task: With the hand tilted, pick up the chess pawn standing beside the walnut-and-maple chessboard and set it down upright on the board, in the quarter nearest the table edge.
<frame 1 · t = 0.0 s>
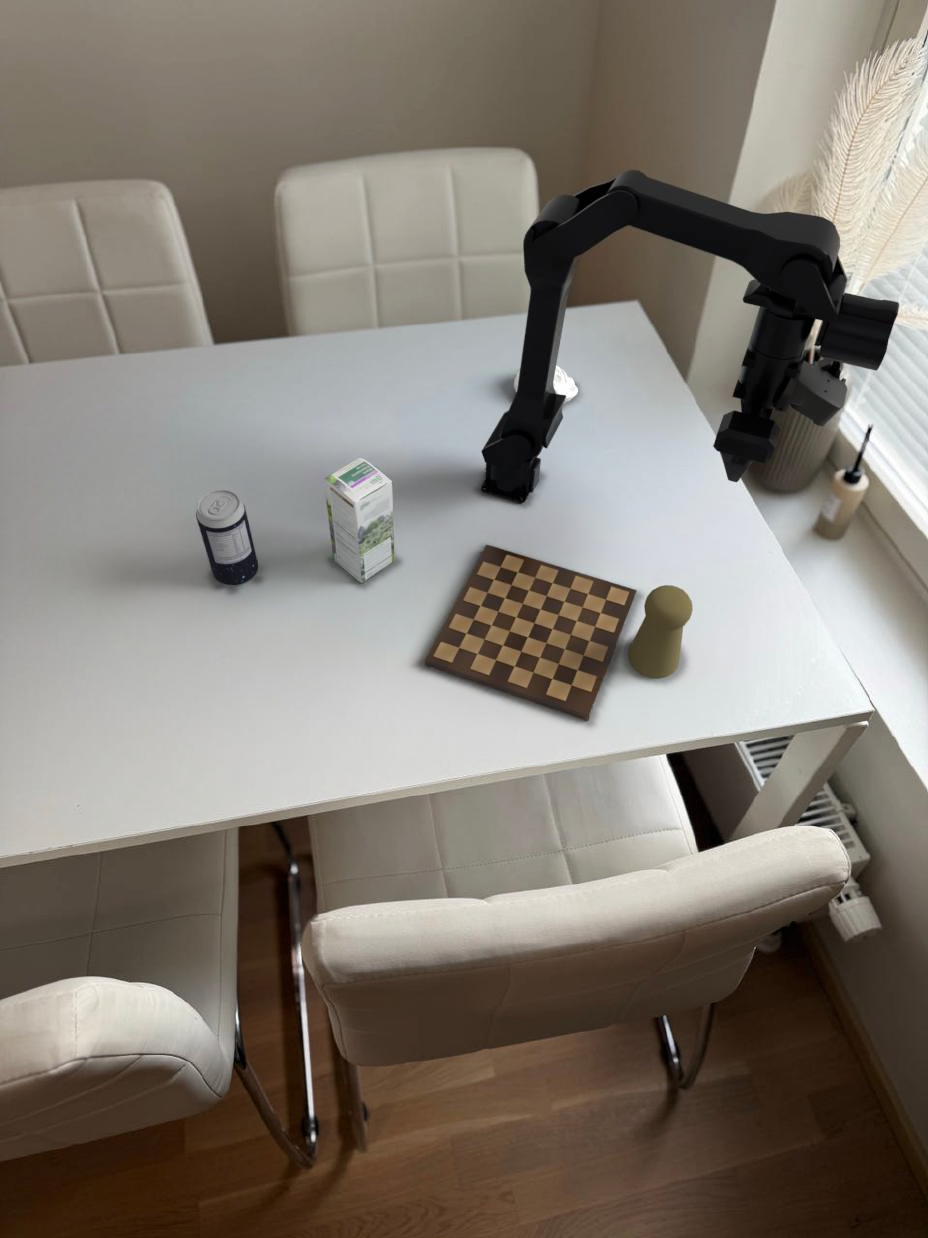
hand: (740, 456, 110), 15 cm above the table, tool pointing down, fingers open, 9 cm apart
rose: (545, 393, 140), on the table
chess pawn: (653, 658, 109), on the table
syrup box: (365, 563, 118), on the table
beverage can: (237, 574, 116), on the table
chessboard: (533, 629, 111), on the table
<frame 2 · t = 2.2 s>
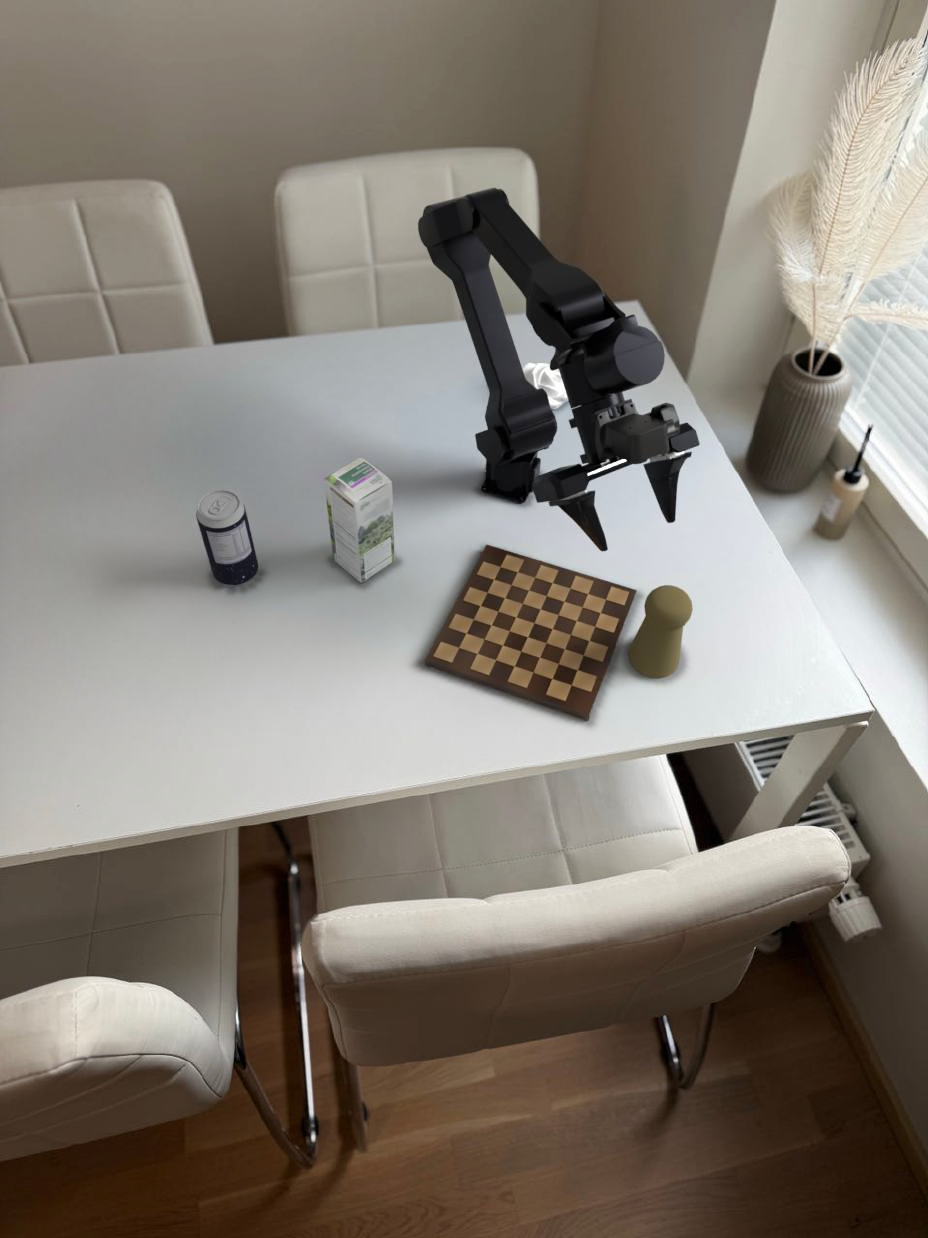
hand: (638, 536, 103), 13 cm above the table, tool tilted 45°, fingers open, 9 cm apart
nothing on the table moved.
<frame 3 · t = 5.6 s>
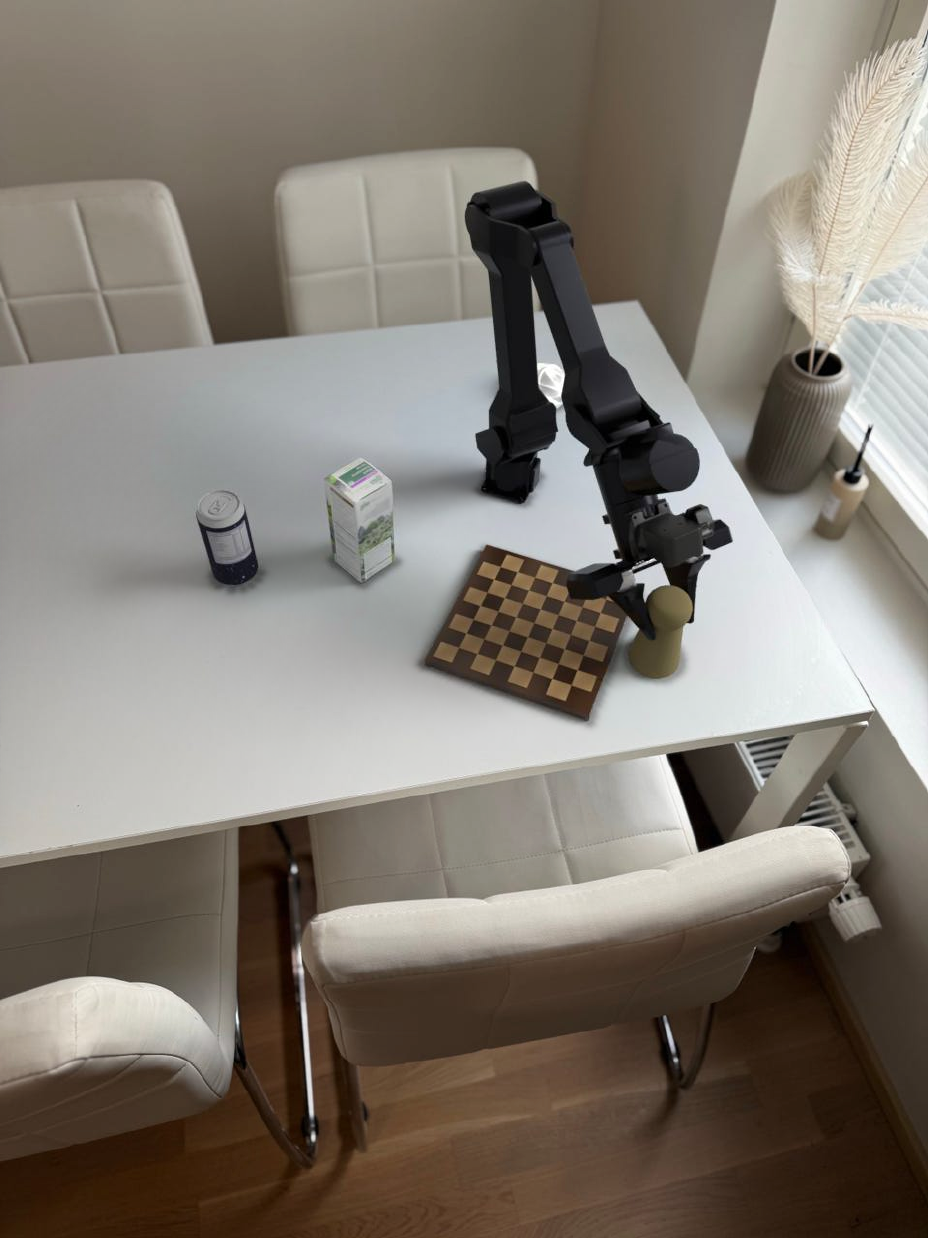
hand: (671, 631, 103), 7 cm above the table, tool tilted 45°, fingers closed on chess pawn, 5 cm apart
chess pawn: (653, 658, 109), on the table, touching gripper
everything else where it was.
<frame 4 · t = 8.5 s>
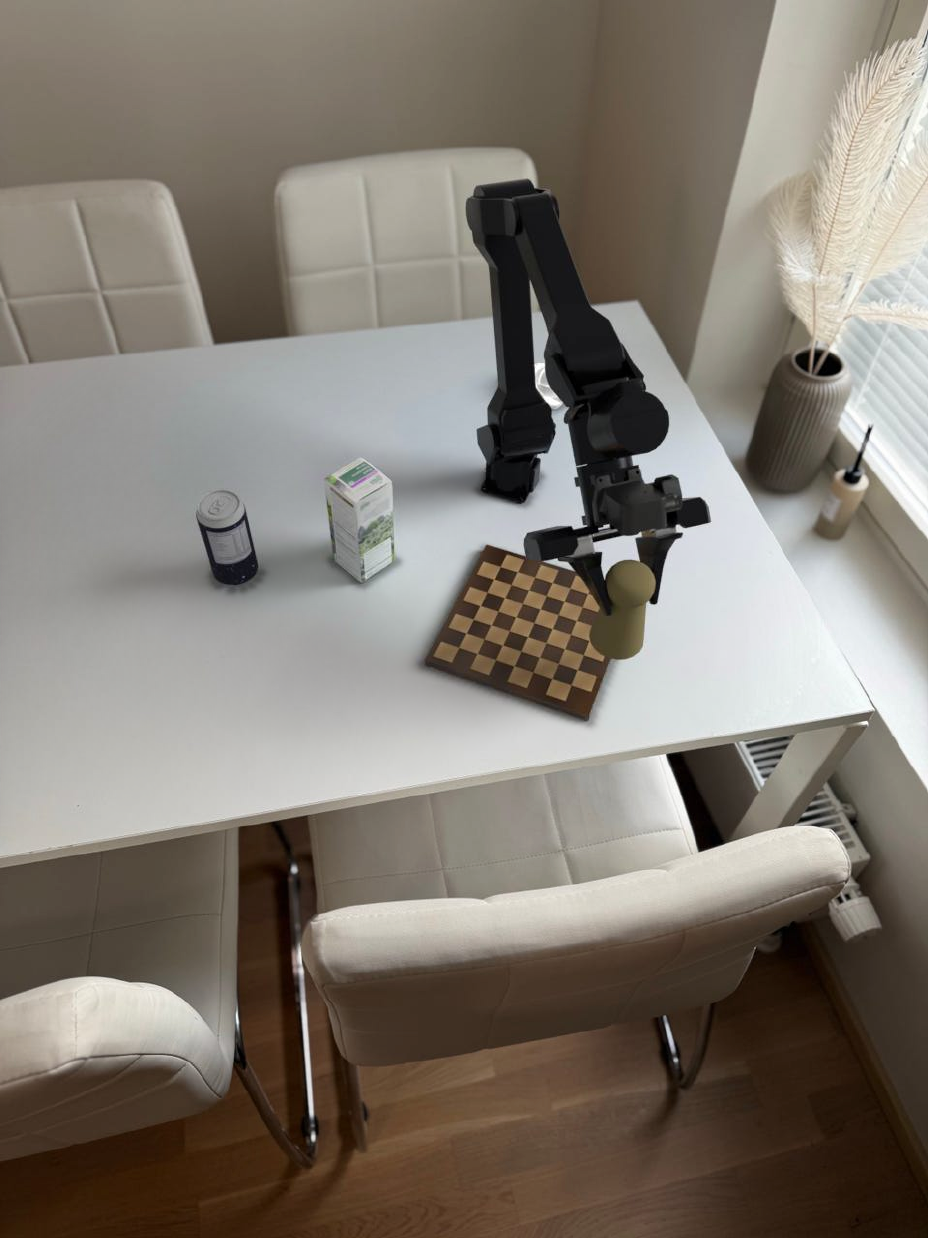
hand: (630, 609, 96), 13 cm above the table, tool tilted 45°, fingers closed on chess pawn, 5 cm apart
chess pawn: (616, 638, 102), point 6 cm above the table, touching gripper
everything else where it was.
when the fingers open (8 cm above the table, at t = 11.4 s): chess pawn stays where it is, resting on chessboard.
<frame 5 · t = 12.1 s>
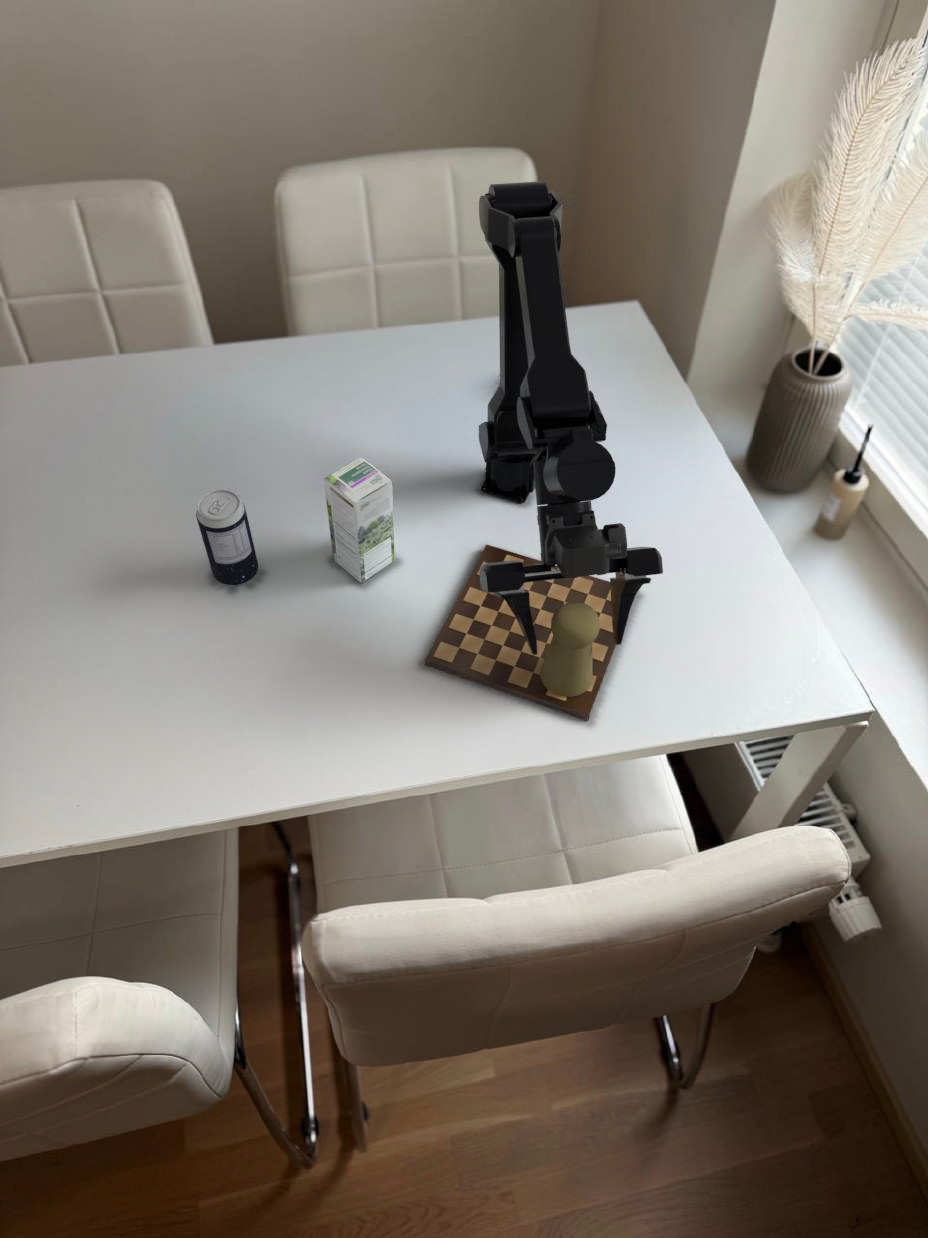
hand: (576, 649, 99), 8 cm above the table, tool tilted 45°, fingers open, 9 cm apart
chess pawn: (566, 676, 106), point 1 cm above the table, touching chessboard
everything else where it was.
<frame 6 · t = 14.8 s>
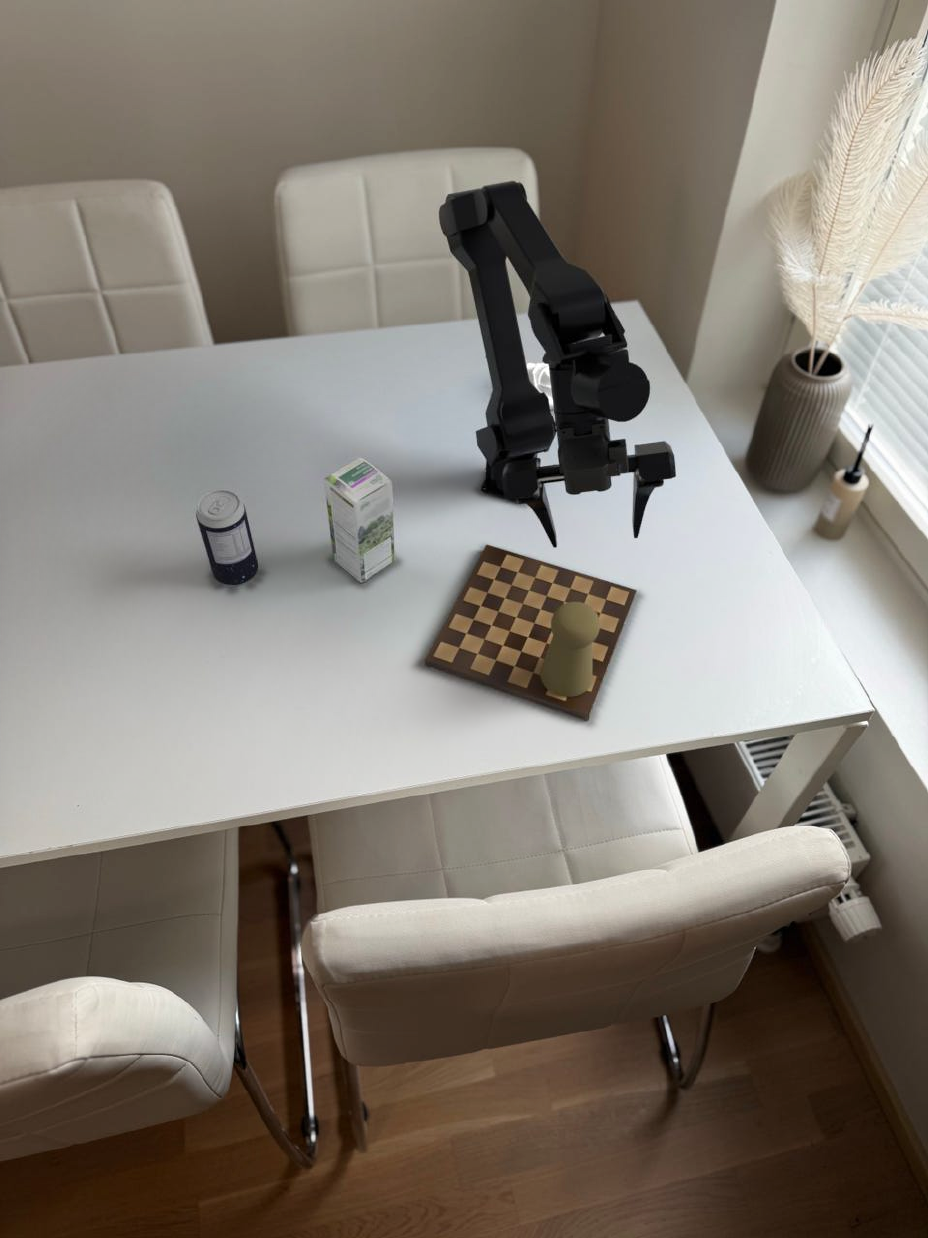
hand: (595, 541, 106), 11 cm above the table, tool tilted 30°, fingers open, 9 cm apart
nothing on the table moved.
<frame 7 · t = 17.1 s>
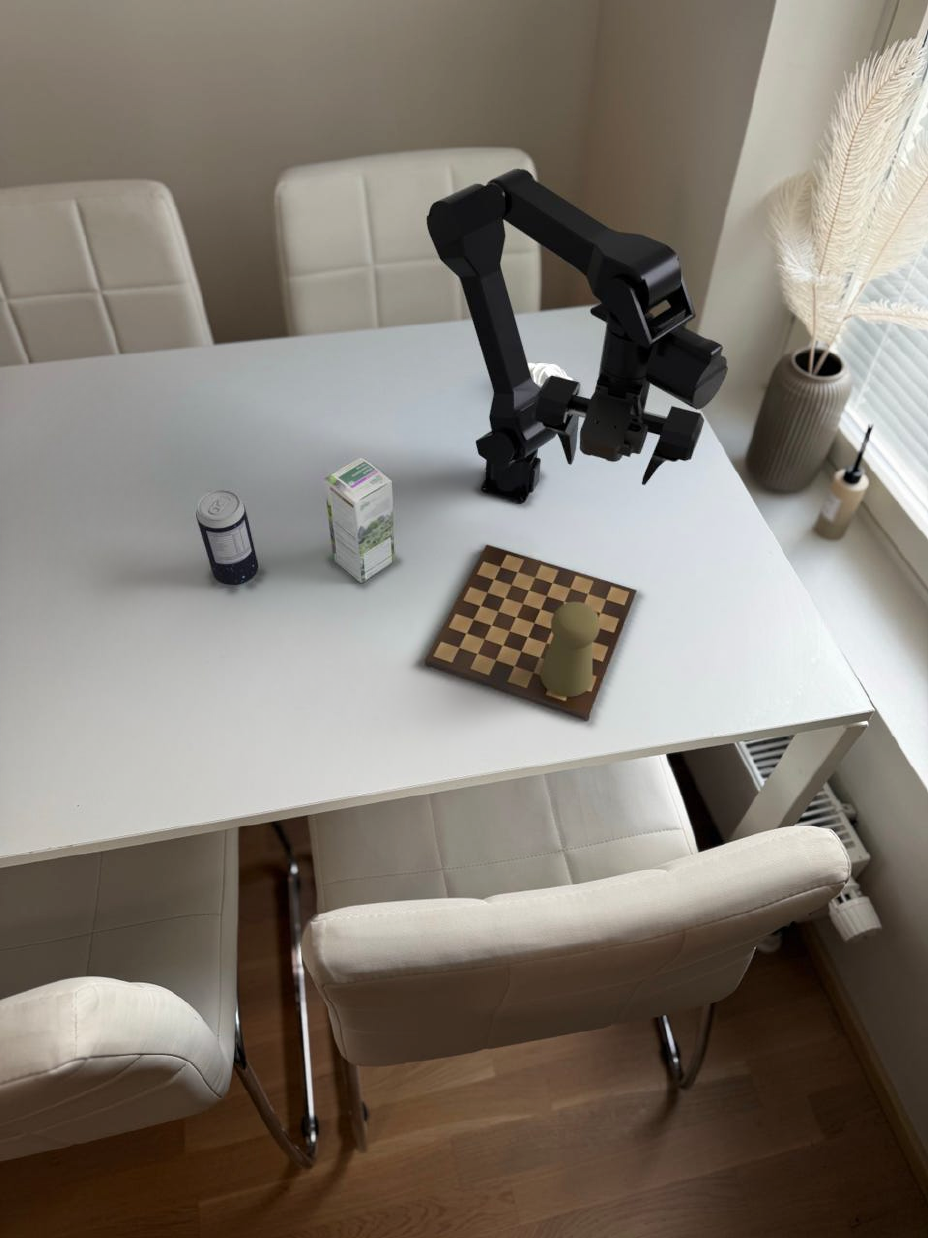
hand: (607, 472, 111), 12 cm above the table, tool pointing down, fingers open, 9 cm apart
nothing on the table moved.
at the end: chess pawn inside the target area on the chessboard (1.0 cm from its centre), point 1.0 cm above the chessboard's base; chess pawn tilted 0°; the gripper is holding nothing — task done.
